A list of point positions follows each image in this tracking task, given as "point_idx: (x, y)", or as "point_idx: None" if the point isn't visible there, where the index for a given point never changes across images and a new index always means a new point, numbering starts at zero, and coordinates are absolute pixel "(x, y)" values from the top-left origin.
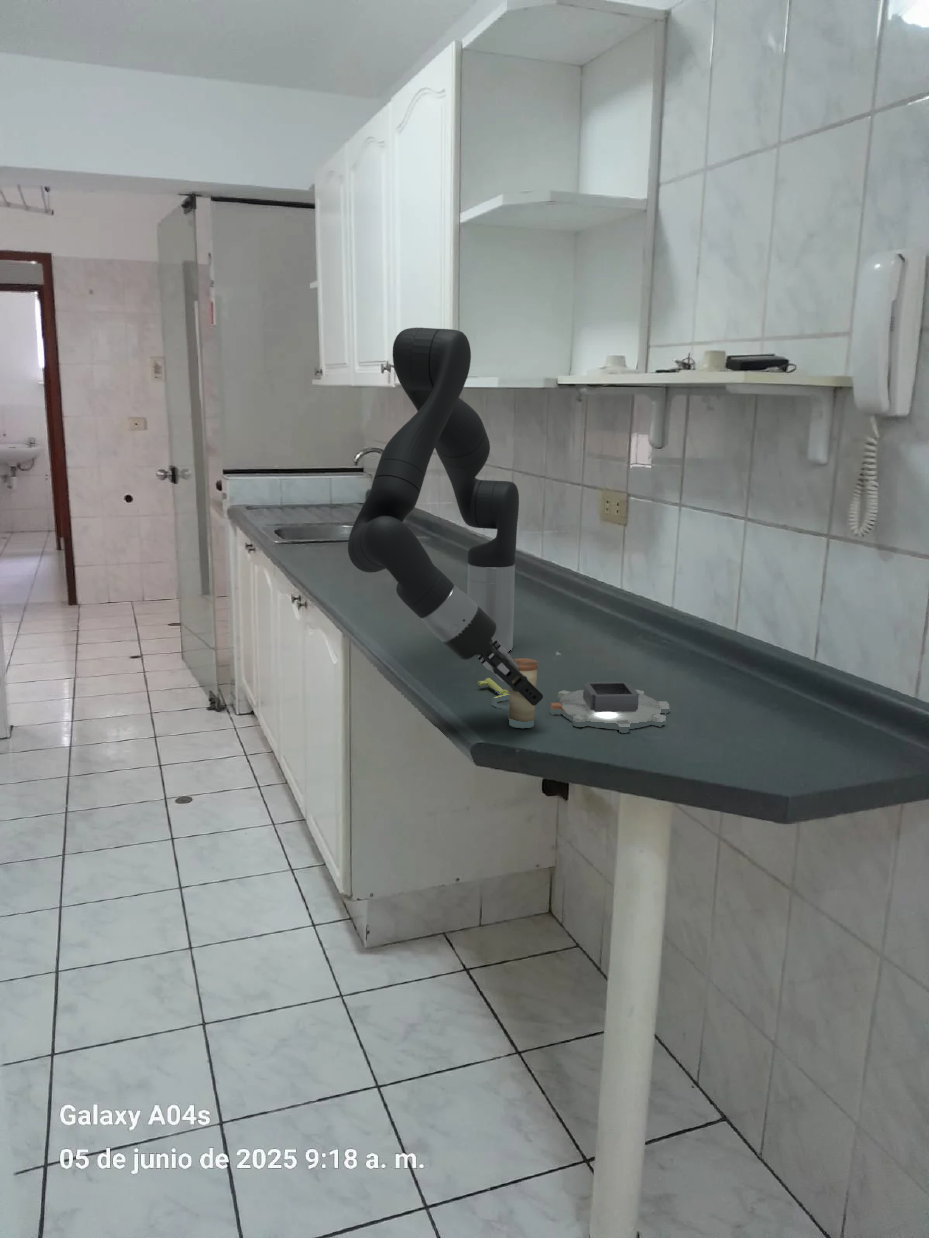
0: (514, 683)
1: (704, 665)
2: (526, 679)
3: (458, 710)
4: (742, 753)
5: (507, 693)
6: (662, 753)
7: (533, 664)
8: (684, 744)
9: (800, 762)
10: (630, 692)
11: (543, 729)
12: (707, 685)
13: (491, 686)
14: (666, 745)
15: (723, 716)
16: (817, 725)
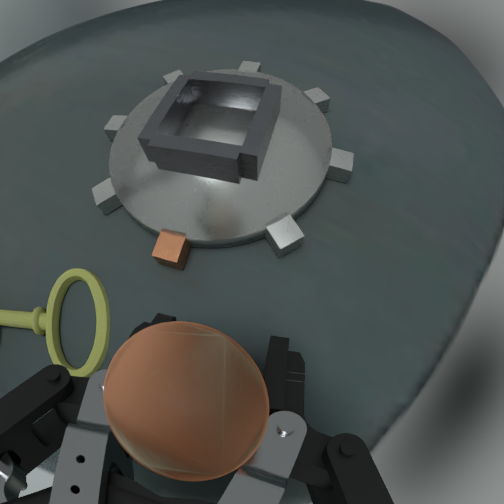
0: (328, 487)
1: (115, 19)
2: (367, 449)
3: None
4: (431, 92)
5: (40, 313)
6: (441, 171)
7: (244, 372)
8: (404, 123)
9: (447, 73)
10: (247, 86)
11: None
12: (173, 22)
13: (3, 325)
14: (409, 146)
15: (294, 40)
16: (341, 11)
